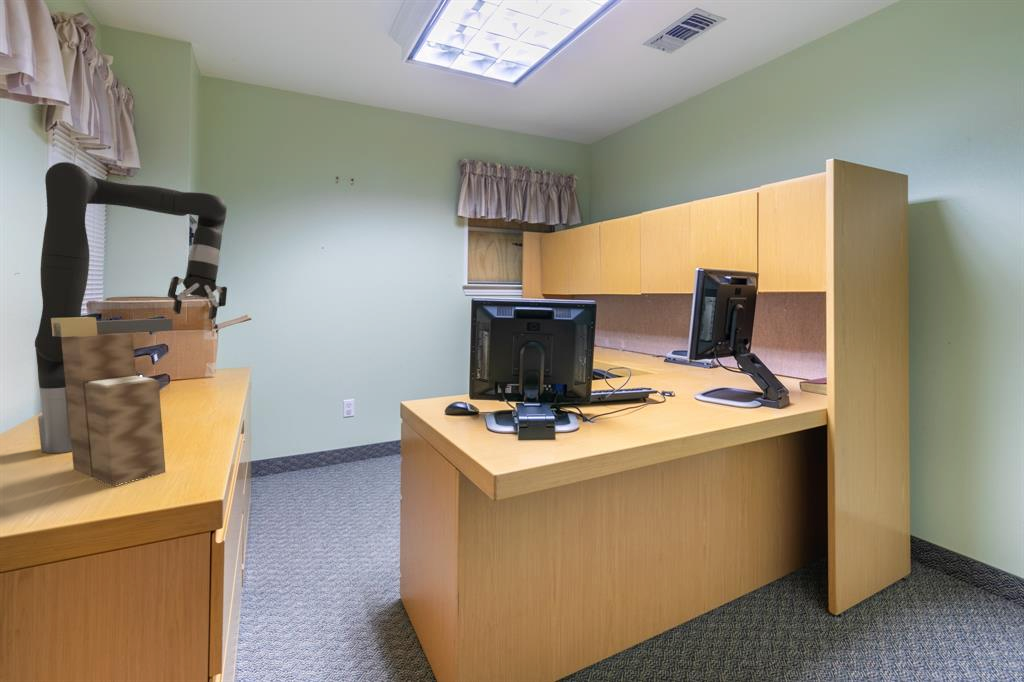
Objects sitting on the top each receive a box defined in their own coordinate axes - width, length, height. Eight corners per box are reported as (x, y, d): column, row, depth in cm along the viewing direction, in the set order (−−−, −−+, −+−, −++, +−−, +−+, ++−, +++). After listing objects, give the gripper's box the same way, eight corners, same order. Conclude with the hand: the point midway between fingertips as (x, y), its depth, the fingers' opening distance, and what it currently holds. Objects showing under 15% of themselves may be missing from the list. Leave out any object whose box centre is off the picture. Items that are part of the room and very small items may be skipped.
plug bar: (63, 337, 104) (61, 318, 104) (52, 335, 107) (51, 318, 107) (175, 330, 123) (174, 314, 123) (163, 329, 126) (162, 314, 126)
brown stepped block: (113, 487, 102) (100, 338, 99) (73, 469, 113) (60, 335, 110) (165, 472, 111) (155, 335, 108) (124, 457, 122) (113, 332, 119)
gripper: (179, 254, 133) (169, 311, 132) (234, 267, 144) (226, 320, 142) (171, 257, 138) (161, 312, 137) (225, 270, 149) (217, 321, 147)
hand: (194, 316), depth 139 cm, fingers open, 8 cm apart
